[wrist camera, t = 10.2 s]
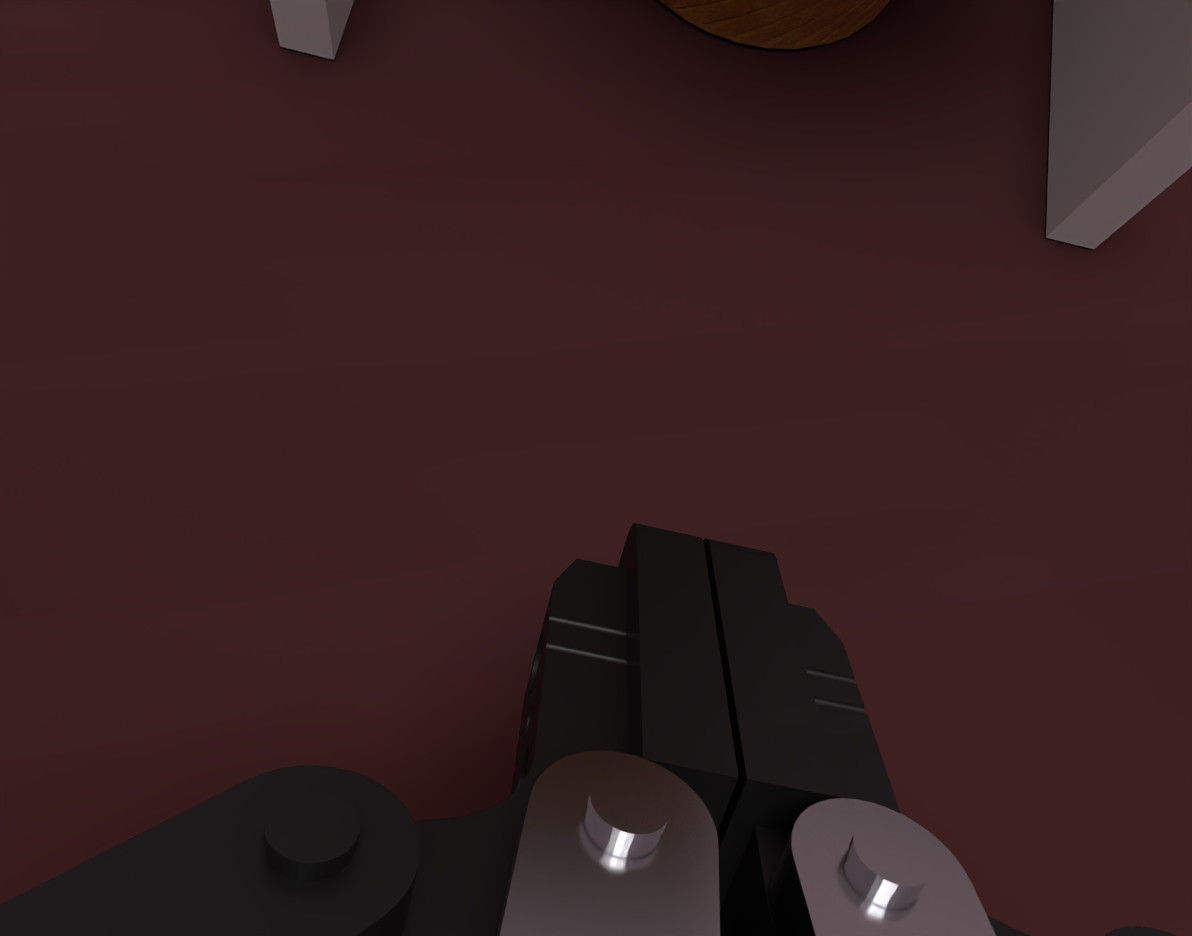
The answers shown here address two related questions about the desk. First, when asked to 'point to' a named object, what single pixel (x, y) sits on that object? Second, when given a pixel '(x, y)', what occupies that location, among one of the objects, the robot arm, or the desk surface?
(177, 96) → the desk surface
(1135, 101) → the grey bay
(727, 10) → the disposable coffee cup
